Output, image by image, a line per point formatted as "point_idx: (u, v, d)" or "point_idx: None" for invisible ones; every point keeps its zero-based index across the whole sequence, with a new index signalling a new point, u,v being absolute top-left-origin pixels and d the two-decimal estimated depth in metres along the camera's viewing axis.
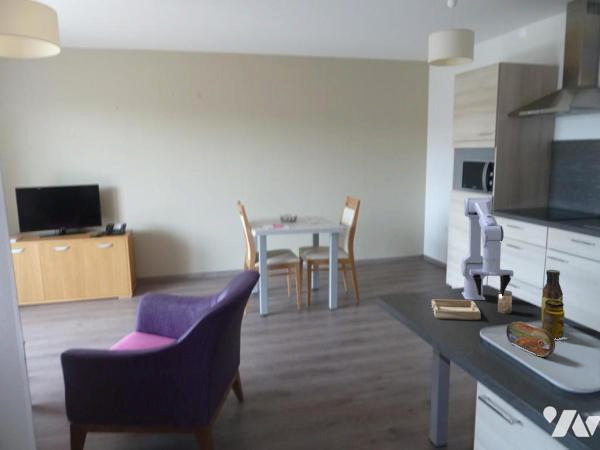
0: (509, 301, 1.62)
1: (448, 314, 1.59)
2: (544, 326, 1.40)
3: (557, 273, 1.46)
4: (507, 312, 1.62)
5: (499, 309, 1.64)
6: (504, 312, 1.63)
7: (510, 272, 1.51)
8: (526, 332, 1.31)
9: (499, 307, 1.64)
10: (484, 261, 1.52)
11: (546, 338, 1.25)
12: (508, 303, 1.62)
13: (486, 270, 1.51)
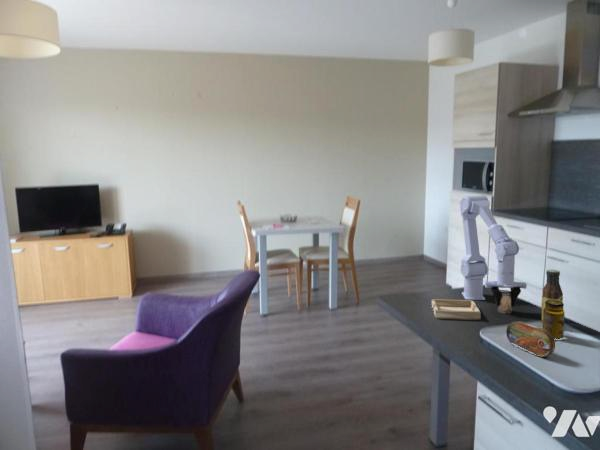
0: (509, 301, 1.62)
1: (448, 314, 1.59)
2: (544, 326, 1.40)
3: (557, 273, 1.46)
4: (507, 312, 1.62)
5: (499, 309, 1.64)
6: (504, 312, 1.63)
7: (523, 284, 1.61)
8: (526, 332, 1.31)
9: (499, 307, 1.64)
10: (499, 274, 1.62)
11: (546, 338, 1.25)
12: (508, 303, 1.62)
13: (501, 282, 1.62)
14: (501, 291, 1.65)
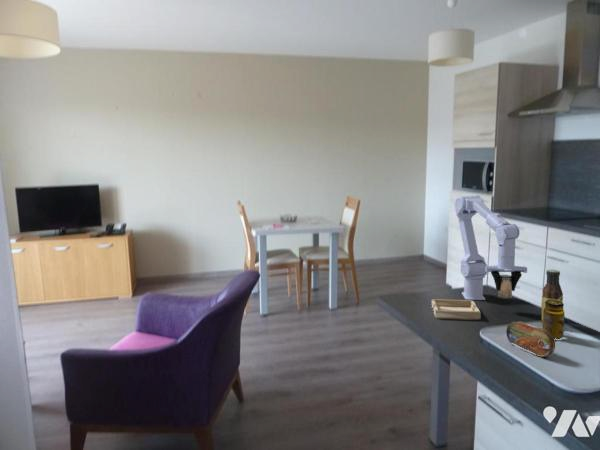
0: (510, 285, 1.61)
1: (448, 314, 1.59)
2: (544, 326, 1.40)
3: (557, 273, 1.46)
4: (508, 296, 1.62)
5: (499, 294, 1.63)
6: (504, 297, 1.62)
7: (524, 268, 1.60)
8: (526, 332, 1.31)
9: (499, 292, 1.63)
10: (499, 258, 1.61)
11: (546, 338, 1.25)
12: (509, 288, 1.61)
13: (501, 267, 1.61)
14: (502, 275, 1.64)
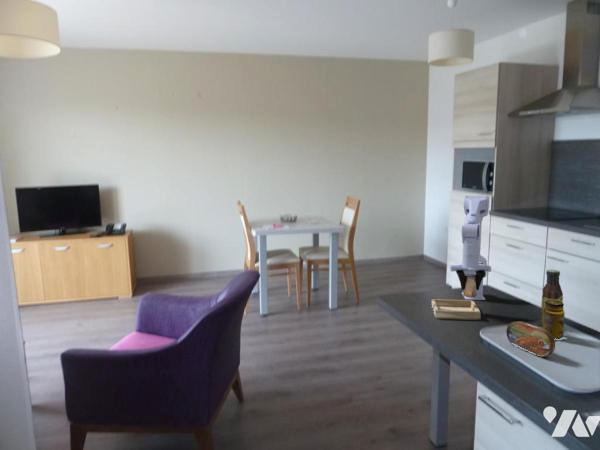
0: (474, 284, 1.61)
1: (448, 314, 1.59)
2: (544, 326, 1.40)
3: (557, 273, 1.46)
4: (472, 295, 1.62)
5: (464, 293, 1.64)
6: (469, 296, 1.62)
7: (488, 267, 1.61)
8: (526, 332, 1.31)
9: (464, 291, 1.63)
10: (463, 257, 1.62)
11: (546, 338, 1.25)
12: (473, 287, 1.61)
13: (465, 266, 1.61)
14: (466, 274, 1.64)
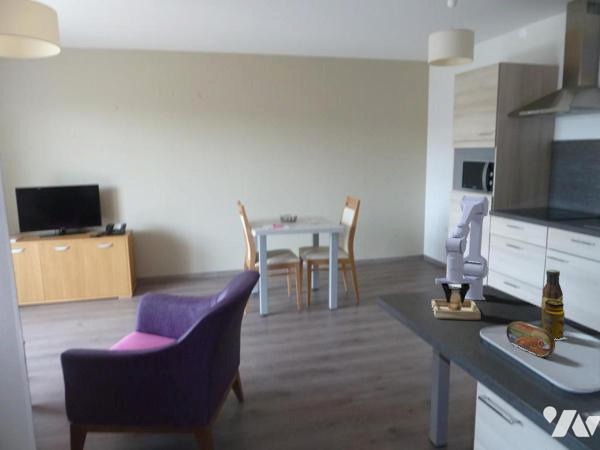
0: (458, 298, 1.62)
1: (448, 314, 1.59)
2: (544, 326, 1.40)
3: (557, 273, 1.46)
4: (457, 308, 1.63)
5: (449, 306, 1.65)
6: (453, 309, 1.63)
7: (472, 281, 1.61)
8: (526, 332, 1.31)
9: (449, 304, 1.65)
10: (448, 271, 1.63)
11: (546, 338, 1.25)
12: (457, 300, 1.62)
13: (450, 279, 1.62)
14: (451, 287, 1.65)
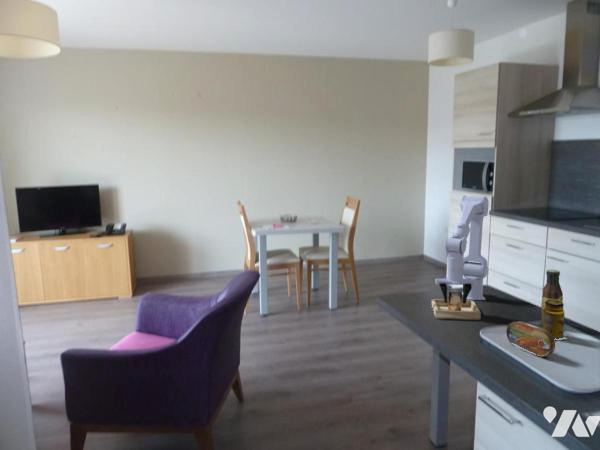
0: (458, 301, 1.62)
1: (448, 314, 1.59)
2: (544, 326, 1.40)
3: (557, 273, 1.46)
4: None
5: (449, 309, 1.65)
6: None
7: (472, 281, 1.61)
8: (526, 332, 1.31)
9: (449, 307, 1.65)
10: (448, 271, 1.63)
11: (546, 338, 1.25)
12: (457, 303, 1.62)
13: (450, 279, 1.62)
14: (452, 290, 1.65)
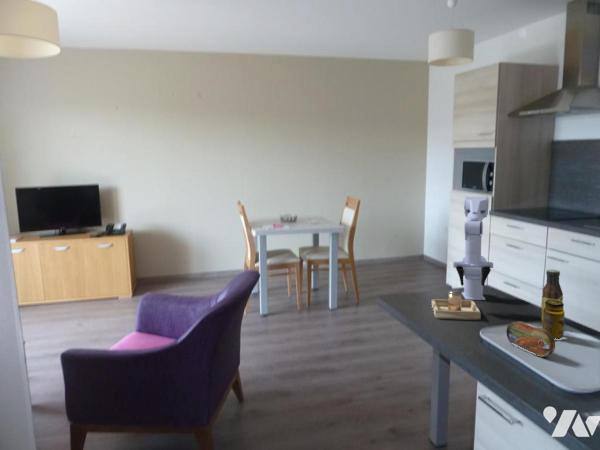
0: (458, 301, 1.62)
1: (448, 314, 1.59)
2: (544, 326, 1.40)
3: (557, 273, 1.46)
4: None
5: (449, 309, 1.65)
6: None
7: (490, 264, 1.63)
8: (526, 332, 1.31)
9: (449, 307, 1.65)
10: (466, 254, 1.64)
11: (546, 338, 1.25)
12: (457, 303, 1.63)
13: (468, 262, 1.64)
14: (451, 290, 1.66)
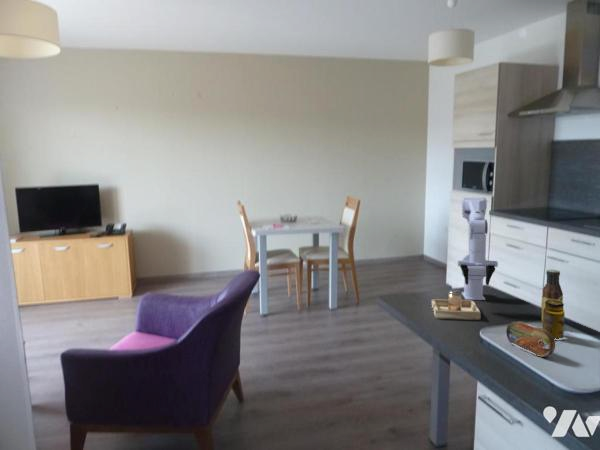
0: (458, 301, 1.62)
1: (448, 314, 1.59)
2: (544, 326, 1.40)
3: (557, 273, 1.46)
4: None
5: (449, 309, 1.65)
6: None
7: (494, 263, 1.64)
8: (526, 332, 1.31)
9: (449, 307, 1.65)
10: (471, 252, 1.65)
11: (546, 338, 1.25)
12: (457, 303, 1.63)
13: (472, 261, 1.64)
14: (451, 290, 1.66)
